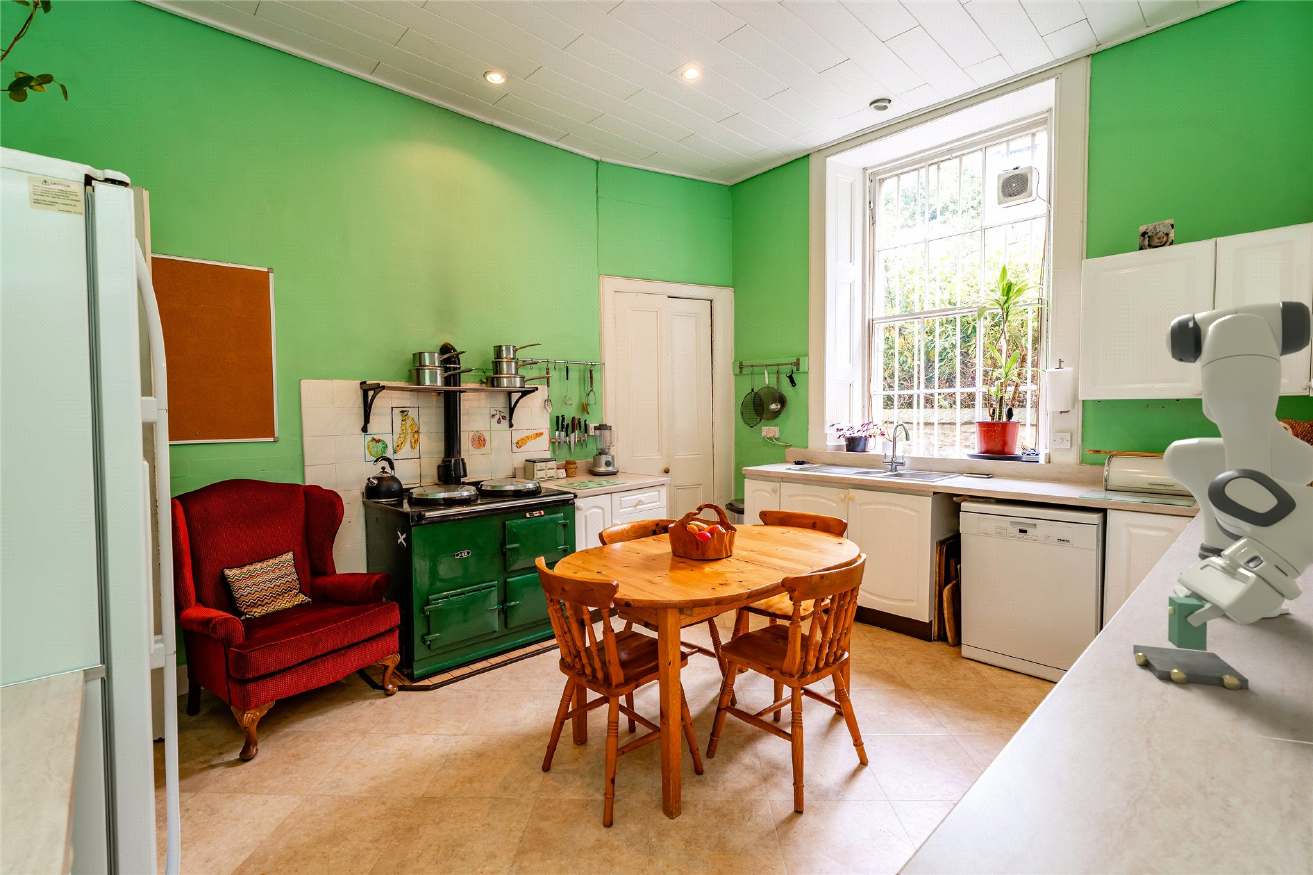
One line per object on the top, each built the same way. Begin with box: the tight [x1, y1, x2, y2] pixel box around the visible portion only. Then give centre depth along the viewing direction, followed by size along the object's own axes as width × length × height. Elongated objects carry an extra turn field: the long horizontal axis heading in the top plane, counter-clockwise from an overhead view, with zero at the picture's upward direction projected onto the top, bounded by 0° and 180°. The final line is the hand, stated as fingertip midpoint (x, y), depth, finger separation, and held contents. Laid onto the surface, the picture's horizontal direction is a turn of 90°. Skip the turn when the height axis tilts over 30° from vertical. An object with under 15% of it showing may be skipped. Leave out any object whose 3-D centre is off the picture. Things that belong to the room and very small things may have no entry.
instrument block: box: [1167, 595, 1208, 652], centre depth 108 cm, size 4×5×8 cm
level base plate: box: [1132, 644, 1249, 691], centre depth 108 cm, size 13×13×2 cm
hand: (1182, 617), depth 108 cm, fingers closed on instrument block, 4 cm apart
